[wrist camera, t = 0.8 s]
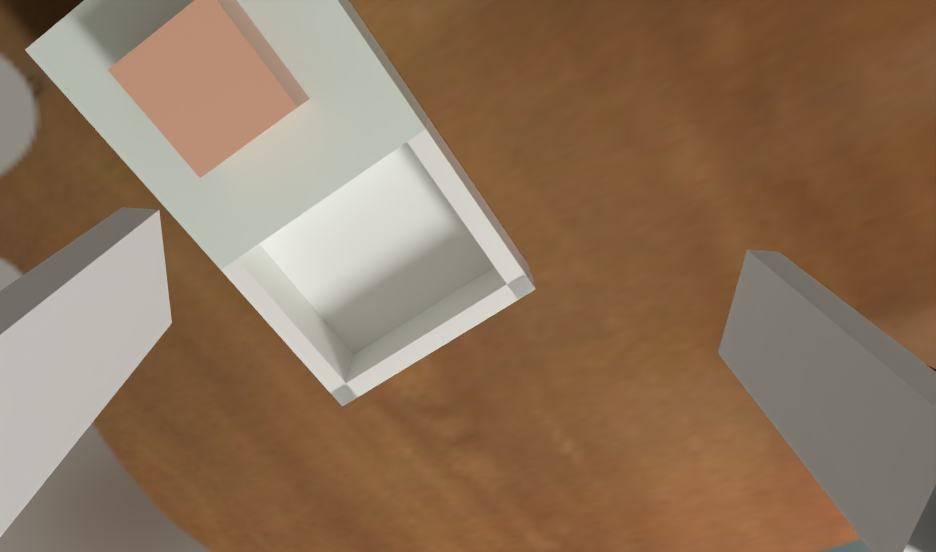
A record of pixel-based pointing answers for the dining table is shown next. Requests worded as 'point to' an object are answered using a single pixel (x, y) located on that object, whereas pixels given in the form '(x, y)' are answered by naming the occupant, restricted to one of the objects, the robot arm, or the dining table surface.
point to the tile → (209, 82)
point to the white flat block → (272, 153)
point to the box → (384, 269)
